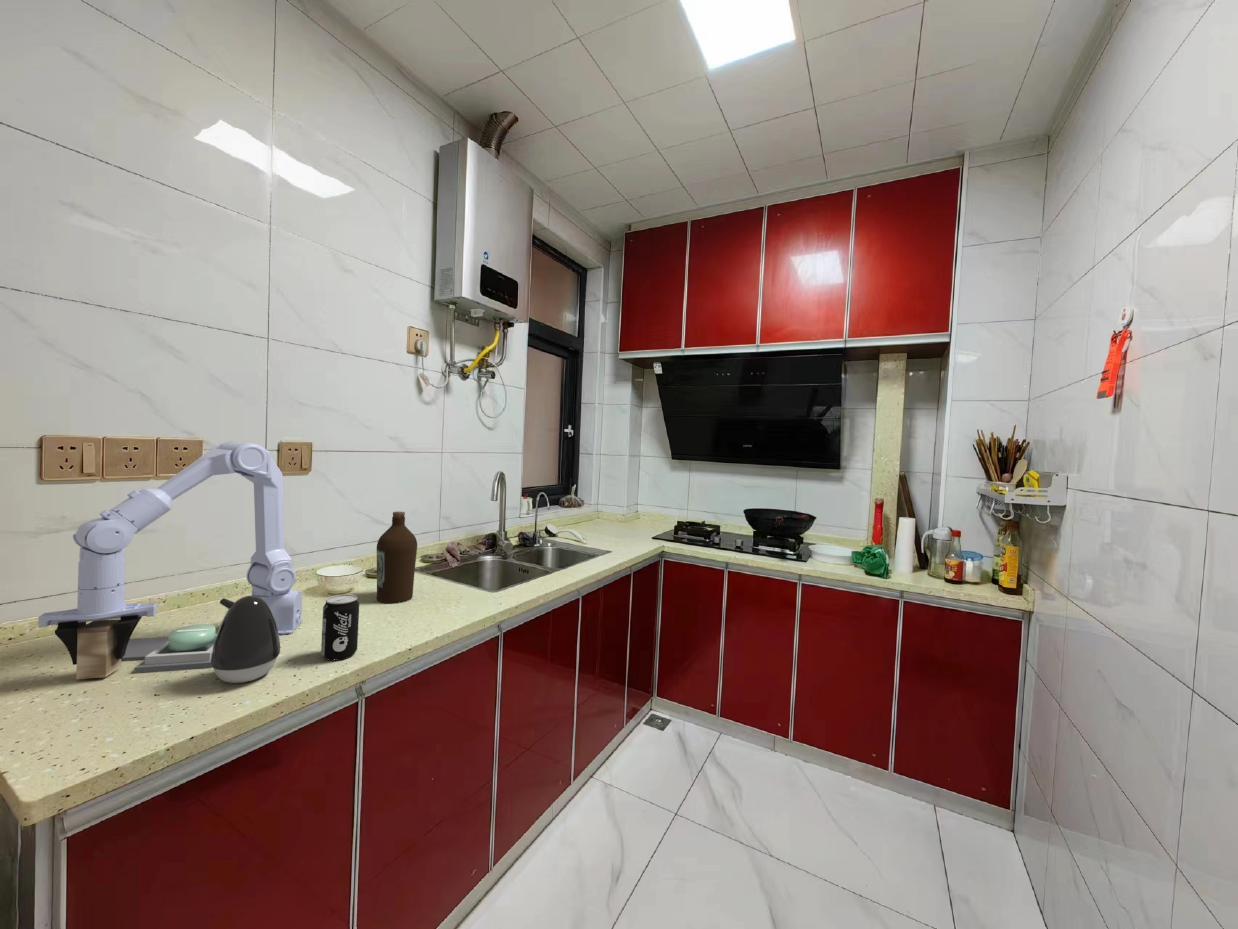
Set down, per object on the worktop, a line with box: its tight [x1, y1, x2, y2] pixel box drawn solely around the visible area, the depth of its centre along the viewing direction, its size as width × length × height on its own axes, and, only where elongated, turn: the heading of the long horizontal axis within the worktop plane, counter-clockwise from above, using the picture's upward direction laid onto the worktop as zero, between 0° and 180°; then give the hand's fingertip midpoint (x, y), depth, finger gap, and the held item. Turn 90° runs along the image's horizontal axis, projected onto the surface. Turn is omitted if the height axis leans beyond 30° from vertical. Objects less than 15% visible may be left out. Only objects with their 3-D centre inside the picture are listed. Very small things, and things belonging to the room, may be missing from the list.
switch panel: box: [133, 633, 217, 674], centre depth 95 cm, size 12×12×2 cm
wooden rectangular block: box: [75, 618, 122, 680], centre depth 86 cm, size 4×4×9 cm
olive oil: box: [376, 511, 418, 604], centre depth 136 cm, size 11×11×25 cm
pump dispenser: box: [211, 595, 281, 684], centre depth 89 cm, size 10×10×15 cm
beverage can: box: [320, 593, 360, 661], centre depth 100 cm, size 7×7×12 cm
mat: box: [121, 636, 169, 662], centre depth 96 cm, size 10×10×1 cm
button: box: [167, 623, 216, 651], centre depth 95 cm, size 7×7×3 cm
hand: (99, 659), depth 86 cm, fingers closed on wooden rectangular block, 5 cm apart
